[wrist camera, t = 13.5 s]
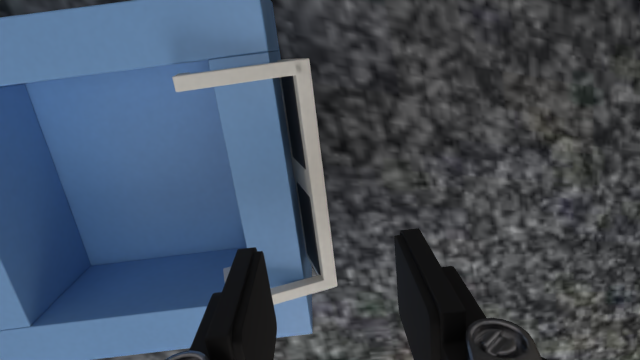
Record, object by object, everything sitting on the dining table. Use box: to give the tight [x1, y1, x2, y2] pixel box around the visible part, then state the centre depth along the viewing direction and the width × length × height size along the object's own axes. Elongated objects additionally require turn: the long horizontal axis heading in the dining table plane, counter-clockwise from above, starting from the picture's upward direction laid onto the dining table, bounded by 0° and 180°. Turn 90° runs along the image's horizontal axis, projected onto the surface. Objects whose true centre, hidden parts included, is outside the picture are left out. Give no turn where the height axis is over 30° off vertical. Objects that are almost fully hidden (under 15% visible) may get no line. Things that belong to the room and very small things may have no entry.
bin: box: [0, 0, 312, 360], centre depth 25 cm, size 20×20×8 cm
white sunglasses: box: [172, 58, 337, 305], centre depth 22 cm, size 6×13×4 cm, turn 7°
